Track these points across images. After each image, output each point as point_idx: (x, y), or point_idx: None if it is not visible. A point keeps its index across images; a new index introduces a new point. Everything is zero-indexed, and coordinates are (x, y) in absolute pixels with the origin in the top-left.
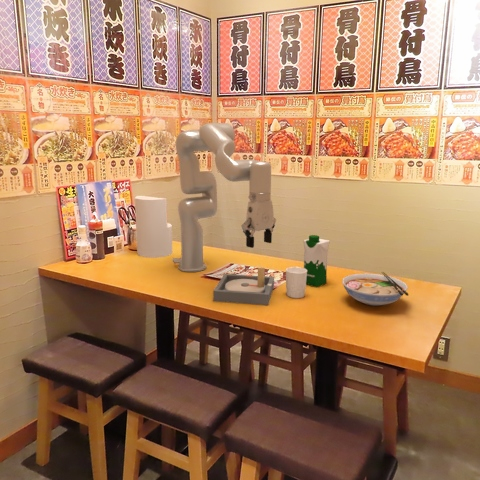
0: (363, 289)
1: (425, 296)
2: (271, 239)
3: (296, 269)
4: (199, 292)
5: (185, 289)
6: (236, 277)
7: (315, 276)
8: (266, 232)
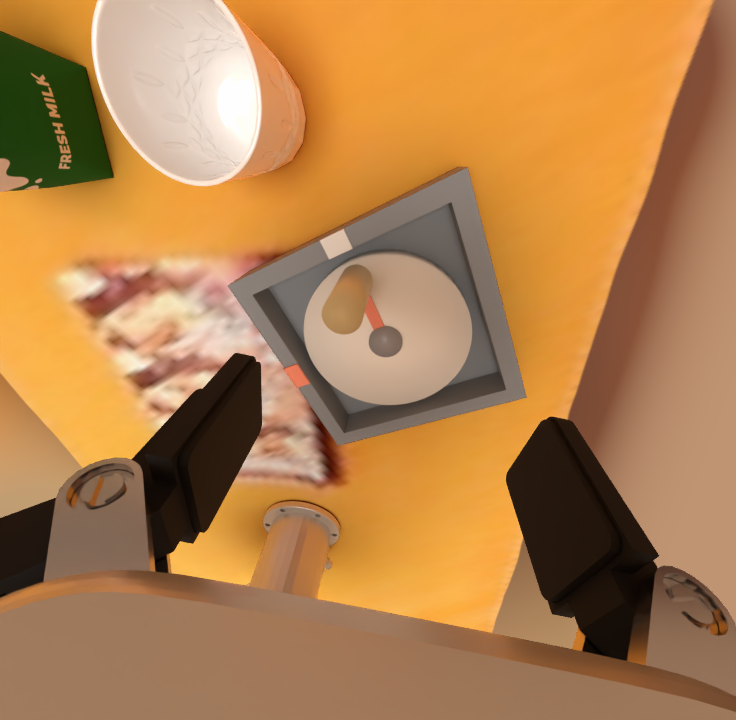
0: None
1: None
2: (217, 375)
3: (142, 135)
4: (458, 437)
5: (455, 472)
6: (329, 404)
7: (30, 66)
8: (199, 507)
